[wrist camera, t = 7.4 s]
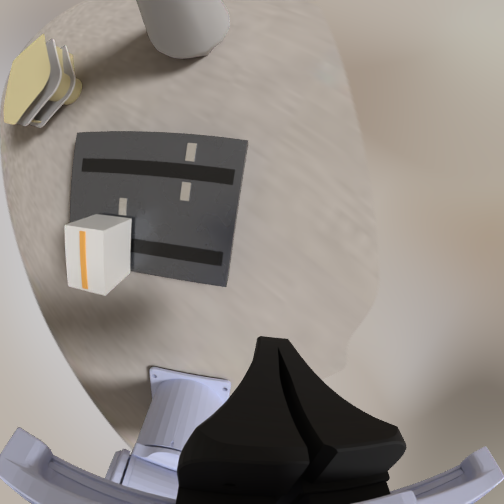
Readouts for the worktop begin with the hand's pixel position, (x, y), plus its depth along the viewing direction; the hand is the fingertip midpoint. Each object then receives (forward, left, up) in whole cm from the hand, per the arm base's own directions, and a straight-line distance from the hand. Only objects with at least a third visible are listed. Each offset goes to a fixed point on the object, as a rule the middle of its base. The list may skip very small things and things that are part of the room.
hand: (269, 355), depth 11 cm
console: (+5, +9, -10) cm, 14 cm away
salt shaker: (+18, +8, -10) cm, 22 cm away
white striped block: (+2, +11, -8) cm, 13 cm away
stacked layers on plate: (+14, +21, -10) cm, 27 cm away
